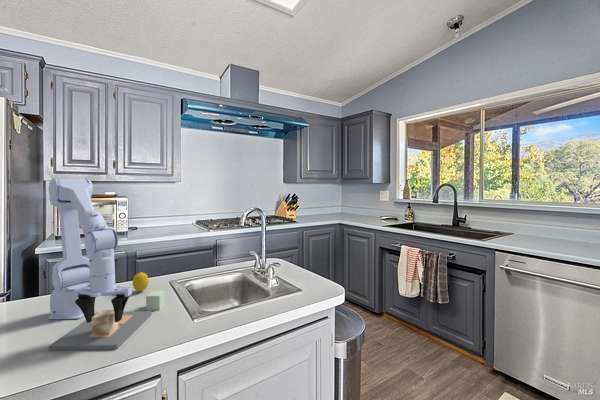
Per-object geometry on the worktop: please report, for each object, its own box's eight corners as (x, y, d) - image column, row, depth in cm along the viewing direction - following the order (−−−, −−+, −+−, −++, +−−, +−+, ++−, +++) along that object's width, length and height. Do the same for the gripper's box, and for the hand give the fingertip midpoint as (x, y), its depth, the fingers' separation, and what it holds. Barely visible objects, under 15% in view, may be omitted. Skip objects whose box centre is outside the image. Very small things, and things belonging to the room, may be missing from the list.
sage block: (146, 310, 96) (146, 296, 96) (152, 304, 101) (152, 291, 100) (159, 310, 97) (159, 296, 96) (165, 304, 101) (164, 290, 101)
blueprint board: (49, 350, 74) (48, 345, 73) (97, 315, 92) (97, 311, 92) (117, 349, 74) (116, 344, 74) (151, 314, 93) (151, 310, 93)
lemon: (144, 288, 116) (144, 268, 115) (151, 291, 113) (151, 271, 112) (130, 292, 111) (129, 272, 111) (137, 295, 108) (136, 275, 108)
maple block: (92, 335, 78) (91, 317, 78) (102, 326, 83) (102, 310, 83) (109, 334, 79) (108, 317, 78) (118, 326, 83) (117, 309, 83)
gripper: (64, 278, 75) (66, 328, 76) (121, 277, 76) (123, 327, 77) (83, 269, 82) (85, 315, 83) (135, 269, 83) (136, 315, 84)
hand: (104, 320), depth 80 cm, fingers open, 7 cm apart
